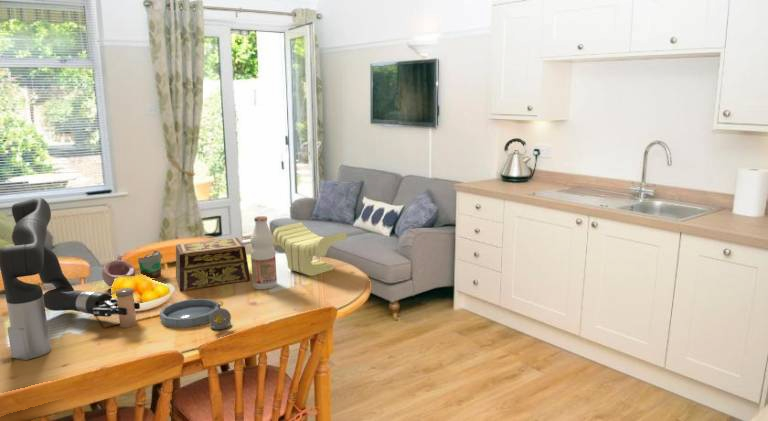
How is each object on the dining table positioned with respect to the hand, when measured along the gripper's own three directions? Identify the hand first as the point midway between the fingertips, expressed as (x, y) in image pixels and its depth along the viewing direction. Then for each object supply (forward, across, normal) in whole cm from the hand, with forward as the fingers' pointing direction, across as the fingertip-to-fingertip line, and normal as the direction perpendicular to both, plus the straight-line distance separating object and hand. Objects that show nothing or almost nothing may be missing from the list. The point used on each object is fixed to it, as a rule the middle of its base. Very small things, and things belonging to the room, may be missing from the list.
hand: (132, 308), depth 189 cm
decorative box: (-6, +49, +6) cm, 50 cm away
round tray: (+12, +13, +6) cm, 19 cm away
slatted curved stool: (+27, +73, +6) cm, 78 cm away
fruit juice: (+19, +49, +6) cm, 53 cm away
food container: (-32, +44, +6) cm, 54 cm away
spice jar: (-3, 0, +6) cm, 7 cm away
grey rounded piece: (+29, +8, +6) cm, 30 cm away
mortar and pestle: (-36, +29, +6) cm, 46 cm away
